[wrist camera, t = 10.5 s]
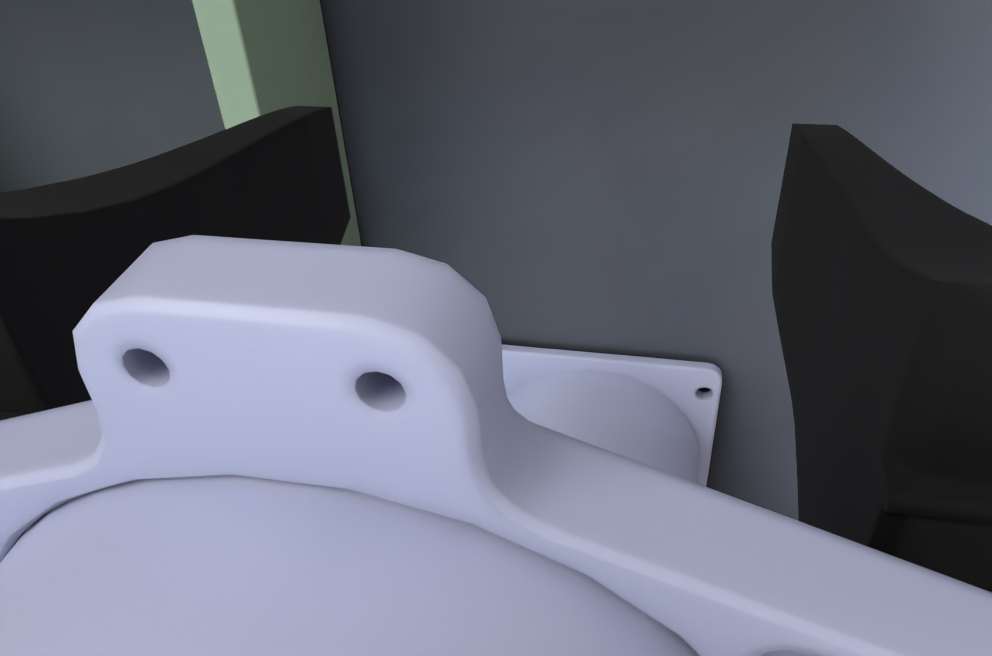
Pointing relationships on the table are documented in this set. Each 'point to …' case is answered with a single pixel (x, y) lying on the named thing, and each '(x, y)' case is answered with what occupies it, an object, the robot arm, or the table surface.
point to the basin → (271, 65)
